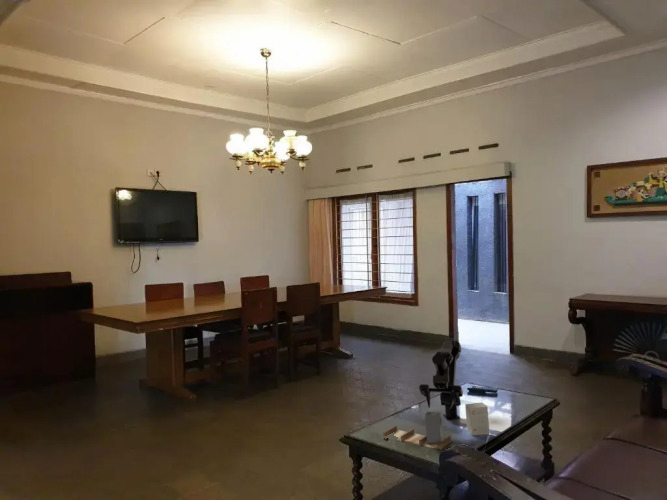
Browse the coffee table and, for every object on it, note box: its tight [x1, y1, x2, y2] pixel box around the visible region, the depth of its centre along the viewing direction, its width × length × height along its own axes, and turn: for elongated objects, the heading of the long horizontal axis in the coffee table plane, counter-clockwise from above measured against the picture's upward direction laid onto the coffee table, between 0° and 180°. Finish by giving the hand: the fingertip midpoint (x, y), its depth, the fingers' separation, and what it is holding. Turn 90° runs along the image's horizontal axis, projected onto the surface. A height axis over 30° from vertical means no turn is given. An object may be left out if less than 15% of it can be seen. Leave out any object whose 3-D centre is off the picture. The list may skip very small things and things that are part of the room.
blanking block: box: [424, 411, 444, 445], centre depth 218 cm, size 6×4×12 cm, turn 66°
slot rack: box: [383, 424, 452, 450], centre depth 224 cm, size 28×10×3 cm, turn 51°
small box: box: [465, 402, 490, 437], centre depth 227 cm, size 8×6×13 cm
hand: (439, 408), depth 225 cm, fingers open, 9 cm apart
